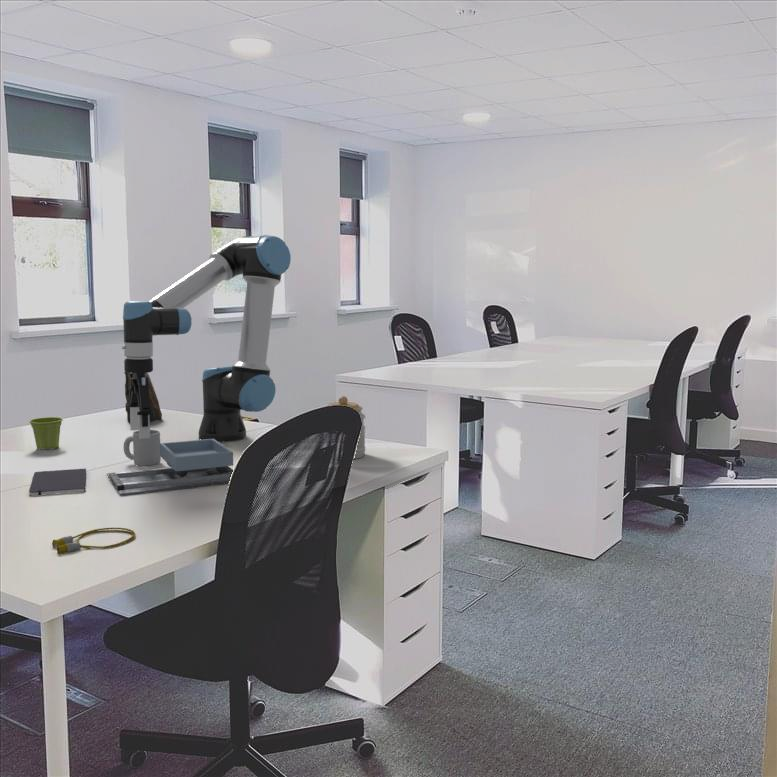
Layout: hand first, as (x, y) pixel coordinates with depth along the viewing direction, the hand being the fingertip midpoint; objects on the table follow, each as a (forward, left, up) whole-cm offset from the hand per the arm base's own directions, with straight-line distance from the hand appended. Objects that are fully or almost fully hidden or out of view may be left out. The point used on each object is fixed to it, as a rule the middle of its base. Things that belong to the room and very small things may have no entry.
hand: (139, 434), depth 232 cm
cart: (-10, +21, -7) cm, 24 cm away
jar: (-55, +14, -9) cm, 58 cm away
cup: (0, 0, -9) cm, 9 cm away
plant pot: (+22, -33, -9) cm, 40 cm away
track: (-4, +21, -9) cm, 23 cm away
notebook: (+23, +13, -9) cm, 28 cm away
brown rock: (-13, -69, -9) cm, 71 cm away
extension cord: (+21, +64, -9) cm, 68 cm away
